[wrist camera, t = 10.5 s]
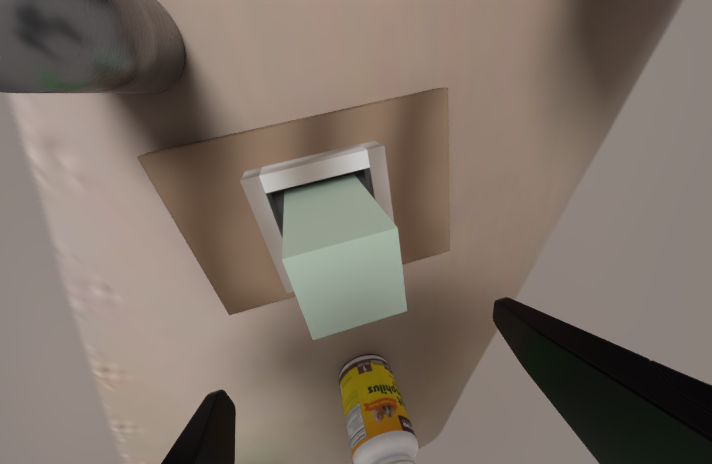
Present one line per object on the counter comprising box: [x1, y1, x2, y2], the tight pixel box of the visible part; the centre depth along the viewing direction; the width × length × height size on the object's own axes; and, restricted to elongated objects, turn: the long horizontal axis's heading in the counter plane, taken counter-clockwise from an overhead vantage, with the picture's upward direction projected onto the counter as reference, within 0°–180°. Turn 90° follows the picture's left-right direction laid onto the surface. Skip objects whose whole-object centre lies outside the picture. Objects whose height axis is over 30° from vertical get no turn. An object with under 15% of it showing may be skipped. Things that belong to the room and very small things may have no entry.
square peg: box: [282, 174, 407, 340], centre depth 15 cm, size 4×4×8 cm
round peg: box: [0, 0, 185, 93], centre depth 10 cm, size 4×4×8 cm
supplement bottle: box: [339, 355, 418, 464], centre depth 24 cm, size 6×6×10 cm
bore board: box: [137, 88, 450, 315], centre depth 18 cm, size 18×12×3 cm, turn 100°
